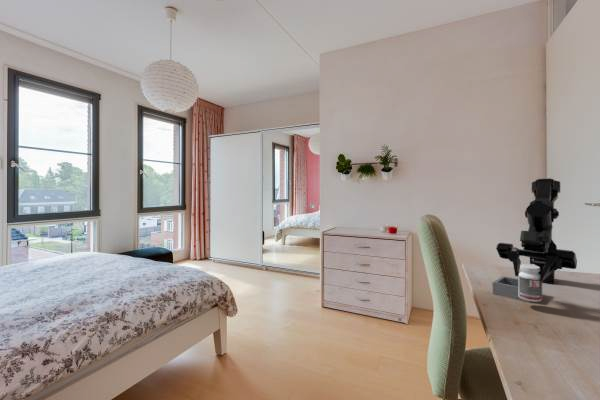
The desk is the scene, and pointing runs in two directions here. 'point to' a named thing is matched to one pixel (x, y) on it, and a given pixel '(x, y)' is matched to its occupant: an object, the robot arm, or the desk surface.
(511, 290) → the bottle holder
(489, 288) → the desk surface
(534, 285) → the pill bottle
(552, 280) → the robot arm
